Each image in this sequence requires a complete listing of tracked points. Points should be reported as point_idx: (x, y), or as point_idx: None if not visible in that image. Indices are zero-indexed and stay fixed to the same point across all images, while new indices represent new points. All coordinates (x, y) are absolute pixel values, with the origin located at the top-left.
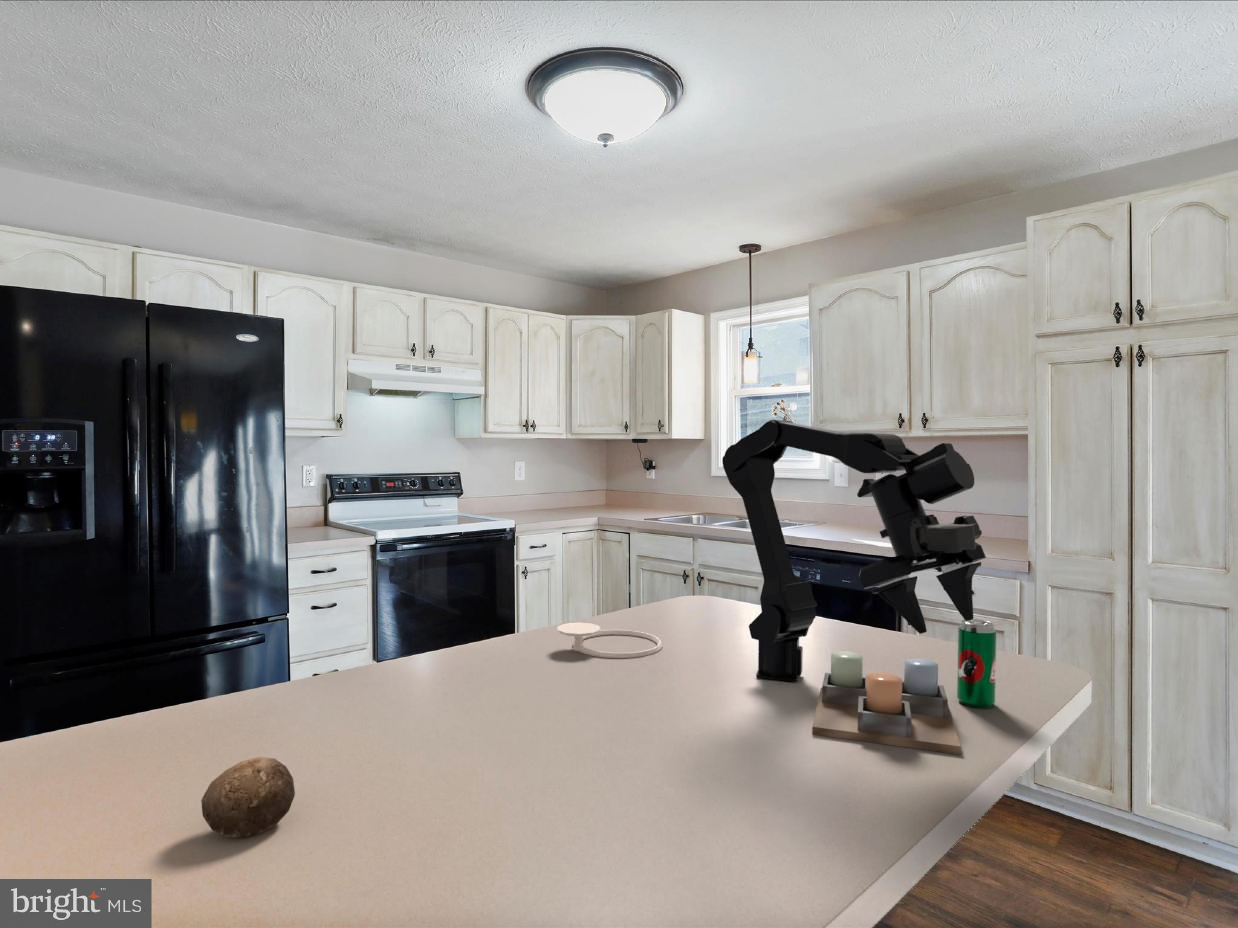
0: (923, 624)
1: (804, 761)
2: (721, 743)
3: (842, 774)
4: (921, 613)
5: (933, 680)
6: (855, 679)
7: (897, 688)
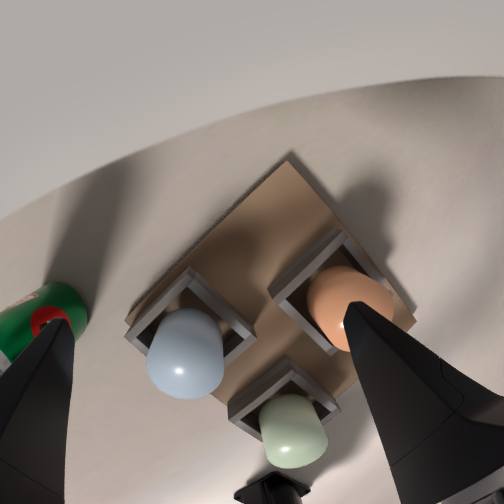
0: (374, 315)
1: (467, 252)
2: (488, 326)
3: (460, 203)
4: (393, 344)
5: (186, 319)
6: (296, 402)
7: (360, 276)
